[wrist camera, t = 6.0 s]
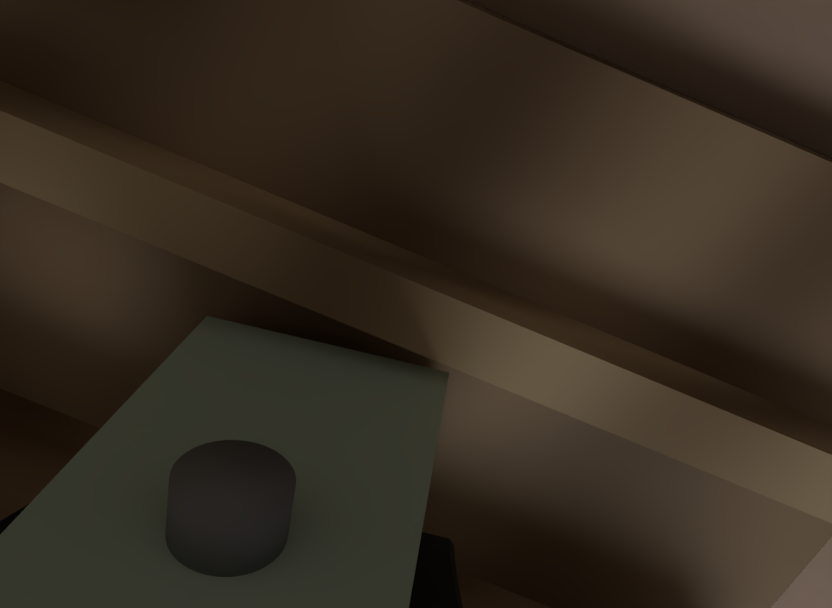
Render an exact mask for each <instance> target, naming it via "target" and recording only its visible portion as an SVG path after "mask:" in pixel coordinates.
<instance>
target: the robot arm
mask: <svg viewBox="0 0 832 608" xmlns="http://www.w3.org/2000/svg"><path fill="white" fill-rule="evenodd" d="M29 504H30V503H29ZM29 504H28V505H29ZM28 505H26V506H24V507H23V508H21V509H19V510H18V511H16V512H14V513H12V514H11V515H9V516H7V517H6V518H4V519H2V520H1V521H0V534H1V533H2V532H3V531H4V530H5V529H6V528H7V527H8V526H9V525H10V524H11V523H12V522H13V521H14V520H15V519H16V517H17V516H18V515H19V514H20V513H21V512H22V511H23V510H24V509H25V508H26V507H27V506H28ZM409 608H463V606H462V601H461V596H460V591H459V585H458V579H457V572H456V563H455V551H454V545H453V543H452V542H451V540H450V539H449V538H445V537H441V536H437V535H433V534H429V533H425V532H422V534H421V540H420V546H419V551H418V557H417V563H416V569H415V575H414V580H413V586H412V592H411V598H410V604H409Z"/></svg>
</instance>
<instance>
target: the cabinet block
mask: <svg viewBox="0 0 832 608" xmlns="http://www.w3.org/2000/svg"><path fill="white" fill-rule="evenodd" d="M448 377H449V372H445V371H441V370H437V369H432V368H428V367H424V366H420V365H415V364H411V363H407V362H402V361H398V360H394V359H390V358H385V357H381V356H377V355H372V354H368V353H364V352H360V351H355V350H351V349H347V348H342V347H338V346H334V345H330V344H325V343H321V342H317V341H312V340H308V339H304V338H300V337H295V336H291V335H287V334H282V333H278V332H274V331H270V330H265V329H261V328H257V327H252V326H248V325H244V324H240V323H235V322H231V321H227V320H222V319H218V318H214V317H210V316H206V317H205V318H204V320H203V321H202V322H201V323H200V324H199V325H198V326H197V327H196V328H195V329H194V330H193V331H192V332H191V333H190V334H189V335H188V336H187V338H186V339H185V340H184V341H183V342H182V343H181V344H180V345H179V346H178V347H177V348H176V349H175V350H174V351H173V352H172V353H171V354H170V356H169V357H168V358H167V359H166V360H165V361H164V362H163V363H162V364H161V365H160V366H159V367H158V368H157V369H156V370H155V371H154V372H153V374H152V375H151V376H150V377H149V378H148V379H147V380H146V381H145V382H144V383H143V384H142V385H141V386H140V387H139V388H138V389H137V390H136V392H135V393H134V394H133V395H132V396H131V397H130V398H129V399H128V400H127V401H126V402H125V403H124V404H123V405H122V406H121V407H120V408H119V409H118V411H117V412H116V413H115V414H114V415H113V416H112V417H111V418H110V419H109V420H108V421H107V422H106V423H105V424H104V425H103V426H102V427H101V429H100V430H99V431H98V432H97V433H96V434H95V435H94V436H93V437H92V438H91V439H90V440H89V441H88V442H87V443H86V444H85V445H84V447H83V448H82V449H81V450H80V451H79V452H78V453H77V454H76V455H75V456H74V457H73V458H72V459H71V460H70V461H69V462H68V463H67V465H66V466H65V467H64V468H63V469H62V470H61V471H60V472H59V473H58V474H57V475H56V476H55V477H54V478H53V479H52V480H51V481H50V483H49V484H48V485H47V486H46V487H45V488H44V489H43V490H42V491H41V492H40V493H39V494H38V495H37V496H36V497H35V498H34V499H33V501H32V502H31V503H30V504H29V505H28V506H27V507H26V508H25V509H24V510H23V511H22V512H21V513H20V514H19V515H18V516H17V517H16V519H15V520H14V521H13V522H12V523H11V524H10V525H9V526H8V527H7V528H6V529H5V530H4V531H3V532H2V533H1V534H0V608H409V604H410V598H411V592H412V586H413V580H414V575H415V569H416V563H417V557H418V551H419V546H420V540H421V534H422V528H423V522H424V517H425V511H426V505H427V499H428V493H429V488H430V482H431V476H432V470H433V464H434V459H435V453H436V447H437V441H438V435H439V429H440V424H441V418H442V412H443V406H444V400H445V395H446V389H447V383H448Z"/></svg>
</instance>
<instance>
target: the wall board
mask: <svg viewBox="0 0 832 608" xmlns="http://www.w3.org/2000/svg"><path fill="white" fill-rule="evenodd" d="M206 316H210V317H214V318H218V319H222V320H227V321H231V322H235V323H240V324H244V325H248V326H252V327H257V328H261V329H265V330H270V331H274V332H278V333H282V334H287V335H291V336H295V337H300V338H304V339H308V340H312V341H317V342H321V343H325V344H330V345H334V346H338V347H342V348H347V349H351V350H355V351H360V352H364V353H368V354H372V355H377V356H381V357H385V358H390V359H394V360H398V361H402V362H407V363H411V364H415V365H420V366H424V367H428V368H432V369H437V370H441V371H445V372H449V377H448V383H447V389H446V395H445V400H444V406H443V412H442V418H441V424H440V429H439V435H438V441H437V447H436V453H435V459H434V464H433V470H432V476H431V482H430V488H429V493H428V499H427V505H426V511H425V517H424V522H423V528H422V532H425V533H429V534H433V535H437V536H441V537H445V538H449V539H450V540H451V542H452V543H453V545H454V551H455V563H456V572H457V579H458V585H459V591H460V596H461V601H462V606H463V608H770V607H771V606H772V605H773V604H774V603H775V602H776V601H777V599H778V598H779V597H780V596H781V595H782V594H783V592H784V591H785V590H786V589H787V588H788V587H789V585H790V584H791V583H792V582H793V581H794V580H795V578H796V577H797V576H798V575H799V574H800V573H801V572H802V570H803V569H804V568H805V567H806V566H807V565H808V563H809V562H810V561H811V560H812V559H813V558H814V556H815V555H816V554H817V553H818V552H819V551H820V549H821V548H822V547H823V546H824V545H825V544H826V543H827V541H828V540H829V539H830V538H831V537H832V159H831V158H829V157H826V156H824V155H822V154H819V153H817V152H815V151H812V150H810V149H808V148H805V147H803V146H801V145H799V144H796V143H794V142H792V141H789V140H787V139H785V138H782V137H780V136H778V135H775V134H773V133H771V132H769V131H766V130H764V129H762V128H759V127H757V126H755V125H752V124H750V123H748V122H745V121H743V120H741V119H739V118H736V117H734V116H732V115H729V114H727V113H725V112H722V111H720V110H718V109H715V108H713V107H711V106H708V105H706V104H704V103H702V102H699V101H697V100H695V99H692V98H690V97H688V96H685V95H683V94H681V93H678V92H676V91H674V90H672V89H669V88H667V87H665V86H662V85H660V84H658V83H655V82H653V81H651V80H648V79H646V78H644V77H642V76H639V75H637V74H635V73H632V72H630V71H628V70H625V69H623V68H621V67H618V66H616V65H614V64H611V63H609V62H607V61H605V60H602V59H600V58H598V57H595V56H593V55H591V54H588V53H586V52H584V51H581V50H579V49H577V48H575V47H572V46H570V45H568V44H565V43H563V42H561V41H558V40H556V39H554V38H551V37H549V36H547V35H545V34H542V33H540V32H538V31H535V30H533V29H531V28H528V27H526V26H524V25H521V24H519V23H517V22H514V21H512V20H510V19H508V18H505V17H503V16H501V15H498V14H496V13H494V12H491V11H489V10H487V9H484V8H482V7H480V6H478V5H475V4H473V3H471V2H468V1H466V0H0V521H1V520H2V519H4V518H6V517H7V516H9V515H11V514H12V513H14V512H16V511H18V510H19V509H21V508H23V507H24V506H26V505H28V504H29V503H31V502H32V501H33V499H34V498H35V497H36V496H37V495H38V494H39V493H40V492H41V491H42V490H43V489H44V488H45V487H46V486H47V485H48V484H49V483H50V481H51V480H52V479H53V478H54V477H55V476H56V475H57V474H58V473H59V472H60V471H61V470H62V469H63V468H64V467H65V466H66V465H67V463H68V462H69V461H70V460H71V459H72V458H73V457H74V456H75V455H76V454H77V453H78V452H79V451H80V450H81V449H82V448H83V447H84V445H85V444H86V443H87V442H88V441H89V440H90V439H91V438H92V437H93V436H94V435H95V434H96V433H97V432H98V431H99V430H100V429H101V427H102V426H103V425H104V424H105V423H106V422H107V421H108V420H109V419H110V418H111V417H112V416H113V415H114V414H115V413H116V412H117V411H118V409H119V408H120V407H121V406H122V405H123V404H124V403H125V402H126V401H127V400H128V399H129V398H130V397H131V396H132V395H133V394H134V393H135V392H136V390H137V389H138V388H139V387H140V386H141V385H142V384H143V383H144V382H145V381H146V380H147V379H148V378H149V377H150V376H151V375H152V374H153V372H154V371H155V370H156V369H157V368H158V367H159V366H160V365H161V364H162V363H163V362H164V361H165V360H166V359H167V358H168V357H169V356H170V354H171V353H172V352H173V351H174V350H175V349H176V348H177V347H178V346H179V345H180V344H181V343H182V342H183V341H184V340H185V339H186V338H187V336H188V335H189V334H190V333H191V332H192V331H193V330H194V329H195V328H196V327H197V326H198V325H199V324H200V323H201V322H202V321H203V320H204V318H205V317H206Z"/></svg>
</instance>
